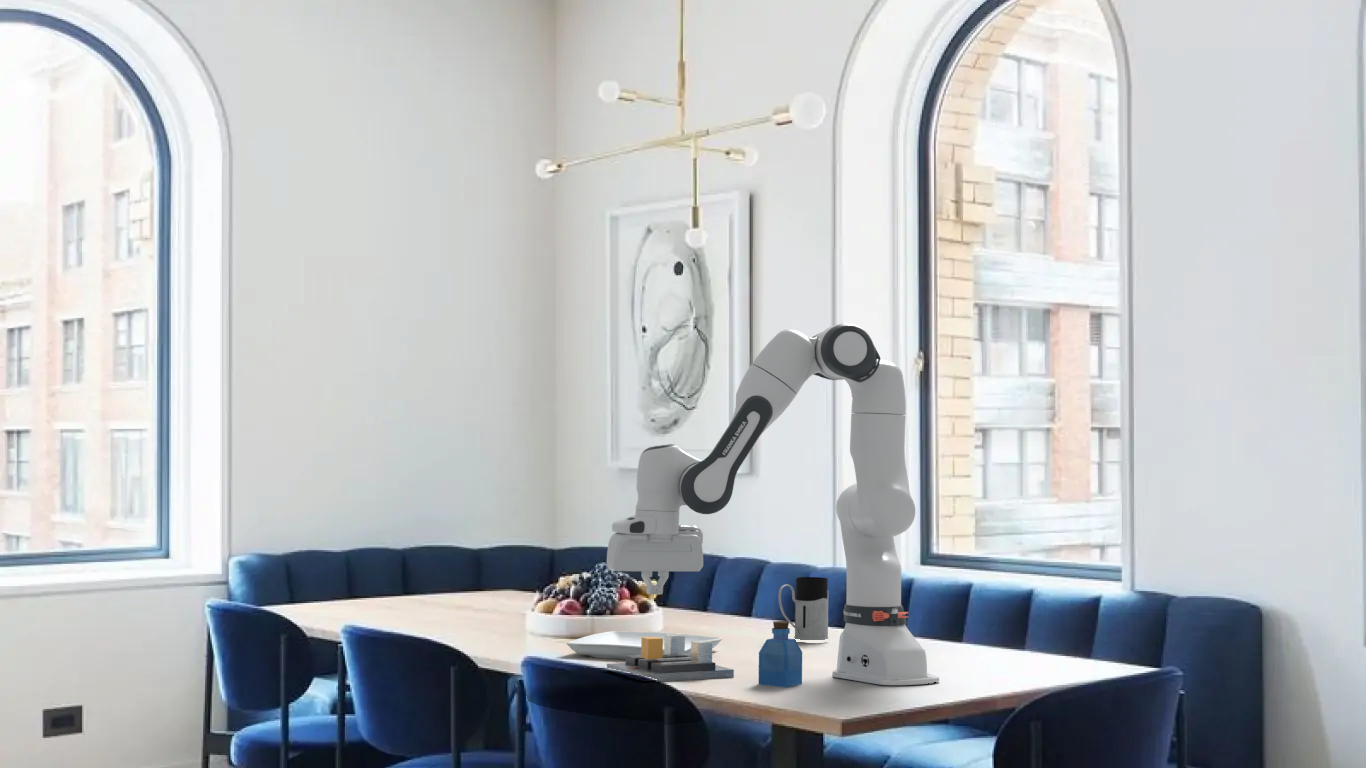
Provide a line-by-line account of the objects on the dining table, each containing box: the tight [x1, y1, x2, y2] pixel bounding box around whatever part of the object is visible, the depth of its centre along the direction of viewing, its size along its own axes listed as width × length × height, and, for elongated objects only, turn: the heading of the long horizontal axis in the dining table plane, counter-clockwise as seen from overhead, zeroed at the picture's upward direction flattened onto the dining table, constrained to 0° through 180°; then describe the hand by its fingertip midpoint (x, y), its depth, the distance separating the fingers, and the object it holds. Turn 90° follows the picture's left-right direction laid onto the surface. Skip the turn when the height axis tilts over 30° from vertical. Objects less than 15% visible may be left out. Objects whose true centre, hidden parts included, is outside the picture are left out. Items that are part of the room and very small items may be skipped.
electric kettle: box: [778, 576, 829, 640], centre depth 397 cm, size 9×14×15 cm, turn 124°
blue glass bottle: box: [758, 620, 803, 688], centre depth 325 cm, size 6×6×12 cm
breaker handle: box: [641, 637, 663, 659], centre depth 334 cm, size 3×3×4 cm
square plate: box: [565, 630, 723, 660], centre depth 369 cm, size 27×27×4 cm
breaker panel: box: [606, 633, 735, 682], centre depth 336 cm, size 17×20×7 cm
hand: (654, 594), depth 335 cm, fingers closed
